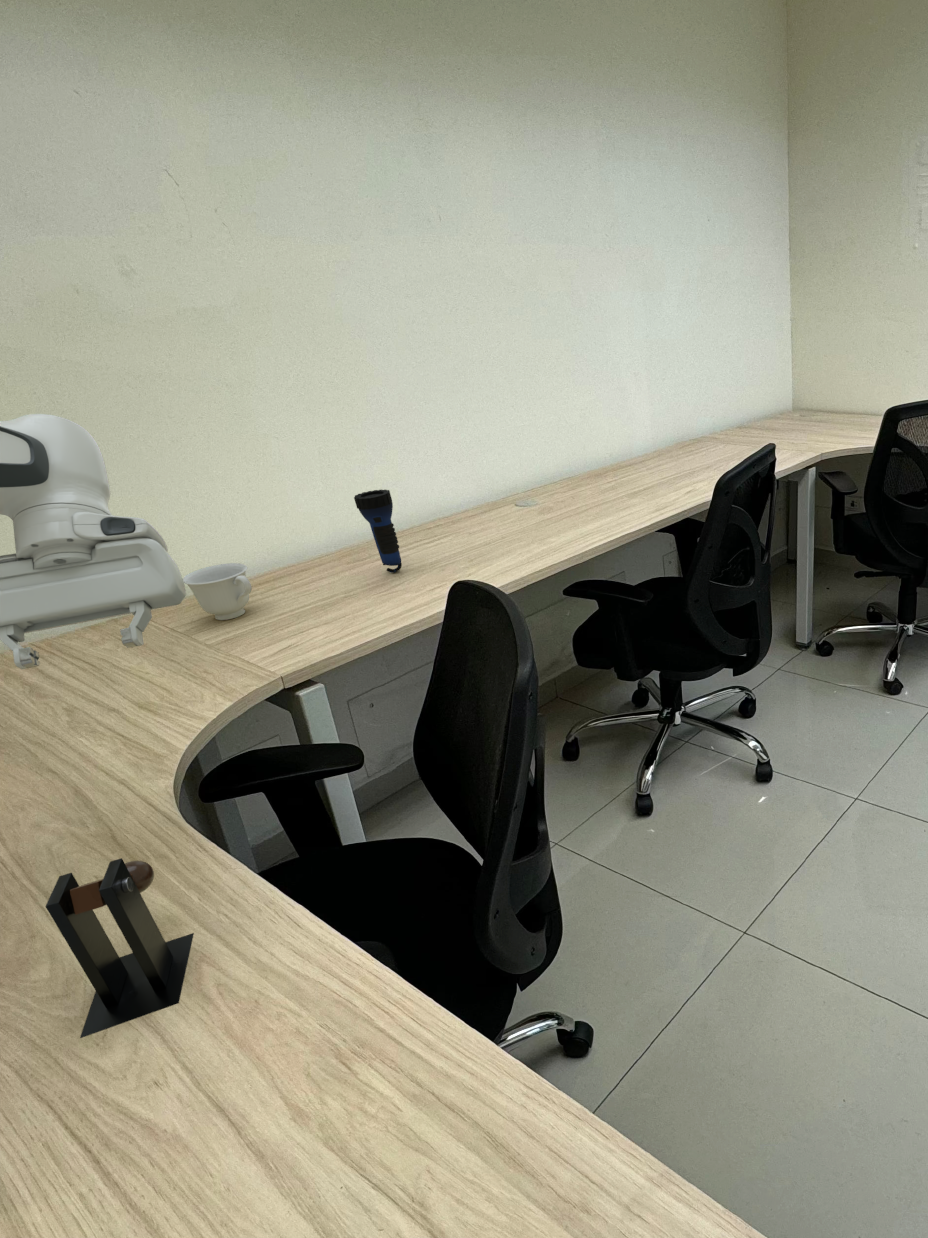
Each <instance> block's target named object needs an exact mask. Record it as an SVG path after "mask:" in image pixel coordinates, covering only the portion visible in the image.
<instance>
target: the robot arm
mask: <svg viewBox="0 0 928 1238" xmlns="http://www.w3.org/2000/svg"><path fill="white" fill-rule="evenodd" d="M110 487H111V486H110V482H109V476H108V469H107V467H106V463H105V459H104V456H103V453H102V450H101V449H100V446H99V445H98V443H97V441H96V439H95V438H94V437H93V436H92V434H91V433H90V432H89V431H88V430H87V429H86V428H85V427H83V426H82V425H80V424H79V423H77V422H75V421H74V420H70V419H69V418H66V417H63V416H59V415H54V414H47V413H30V414H28V413H27V414H24V415H21V416H18V417H16V418H13V419H9V420H0V516H6V517H8V518H10V519H11V521H12V527H13V538H14V547H15V553H9V554H3V555H0V641H1V642H2V643H3V644H4V645H5V646H6V647H7V648H8V649H9V650H11V652H12V655H13V656H12V657H13V663H14V665H15V666H16V667H17V668H18V669H20V670H26V669H33V668H36V667H40V666H41V662H40V660H39V659H40V653H39V651H37V650H36V649H35V650H34V648H33V647H30V646H27V647H23V646H22V645H21V644H20V643H22V642H25V640H26V639H25V634H29V633H35V632H40V631H45V630H50V629H55V628H62V627H67V626H71V625H77V624H83V623H88V622H93V621H99V620H104V619H108V618H115V617H120V616H126V615H132V616H133V618H132V619H131V622H130V624H128V625H129V626H128V627H124V628H121V629H119V632H120V636H121V638H120V640H121V643H122V645H123V646H124V647H125V648H126V649H129V648H135V647H142V646H144V644H145V642H144V635H143V632H145V630H146V629H147V627H148V626H149V624H150V622H151V621H152V618H153V615H152V611H153V610H158V609H162V608H168V607H174V606H178V605H180V604H182V602H183V601H184V599H186V596H187V591H186V584H185V583H184V581H183V578H184V577H183V575H182V572H181V570H180V567H179V565H178V564H177V562H176V561H175V560H174V559H173V557H172V556H171V555H170V553H169V549H168V546H167V543H166V540H165V539H164V537H163V536H162V535H161V534H160V532H159V530H157V529H156V527H154V526H153V524H151V523H150V522H149V521H147V520H146V519H145V518H142V517H137V516H136V517H135V516H121V515H113V513H112V512H111V510H110V508H109V501H110V498H111V488H110Z"/></svg>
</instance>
